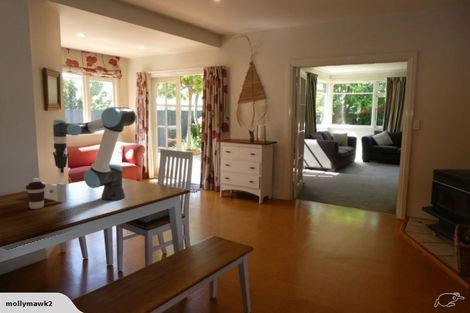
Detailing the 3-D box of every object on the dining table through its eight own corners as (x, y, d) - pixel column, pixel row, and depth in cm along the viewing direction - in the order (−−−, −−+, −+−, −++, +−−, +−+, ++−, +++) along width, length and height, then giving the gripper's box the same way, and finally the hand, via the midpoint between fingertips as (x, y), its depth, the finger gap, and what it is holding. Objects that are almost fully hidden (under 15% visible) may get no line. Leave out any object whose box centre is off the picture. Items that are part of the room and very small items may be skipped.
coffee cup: (23, 208, 194) (21, 183, 192) (38, 203, 203) (36, 180, 201) (35, 210, 191) (33, 185, 188) (49, 206, 200) (48, 182, 198)
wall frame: (37, 195, 222) (36, 177, 221) (66, 202, 209) (65, 183, 207) (33, 195, 220) (32, 178, 218) (63, 203, 207) (62, 184, 205)
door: (37, 196, 217) (36, 181, 215) (41, 196, 220) (40, 181, 218) (54, 201, 209) (53, 185, 208) (58, 200, 212) (57, 184, 210)
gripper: (48, 142, 217) (49, 176, 220) (61, 144, 211) (62, 179, 215) (59, 141, 224) (60, 175, 227) (71, 143, 218) (72, 177, 221)
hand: (61, 177), depth 221 cm, fingers closed
